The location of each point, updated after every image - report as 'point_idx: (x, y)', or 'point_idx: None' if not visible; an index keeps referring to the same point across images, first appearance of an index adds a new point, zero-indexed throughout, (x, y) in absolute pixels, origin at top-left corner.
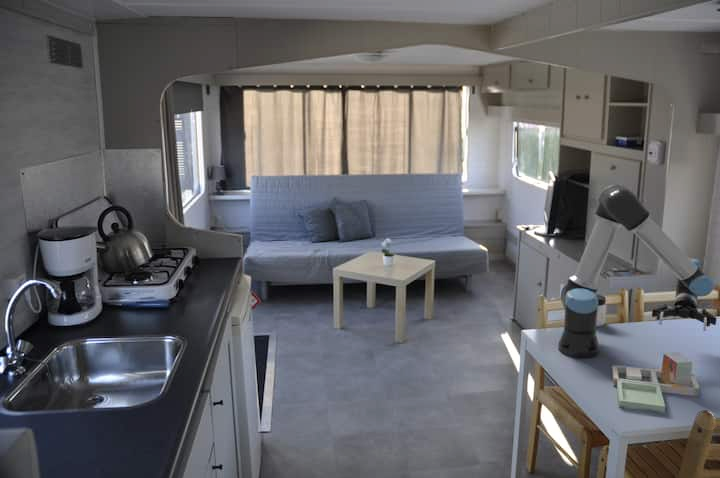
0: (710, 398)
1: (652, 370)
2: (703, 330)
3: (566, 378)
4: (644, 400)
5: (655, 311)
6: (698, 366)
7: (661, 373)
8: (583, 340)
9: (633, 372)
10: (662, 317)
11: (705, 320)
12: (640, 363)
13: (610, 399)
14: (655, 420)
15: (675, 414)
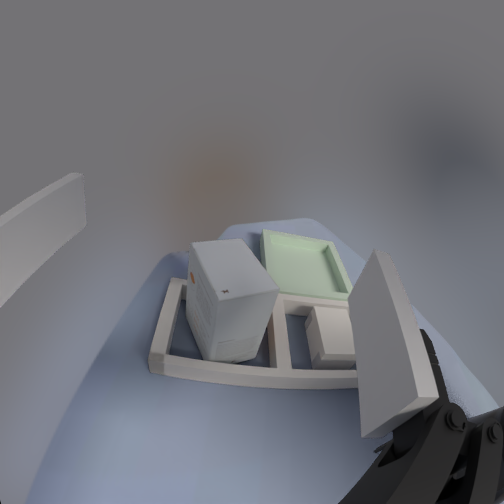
0: (148, 287)
1: (285, 369)
2: (86, 223)
3: (430, 324)
4: (294, 262)
5: (473, 432)
6: (86, 485)
7: (260, 341)
8: (492, 412)
9: (336, 325)
10: (378, 321)
11: (30, 200)
12: (315, 478)
13: (346, 271)
14: (273, 229)
15: None
